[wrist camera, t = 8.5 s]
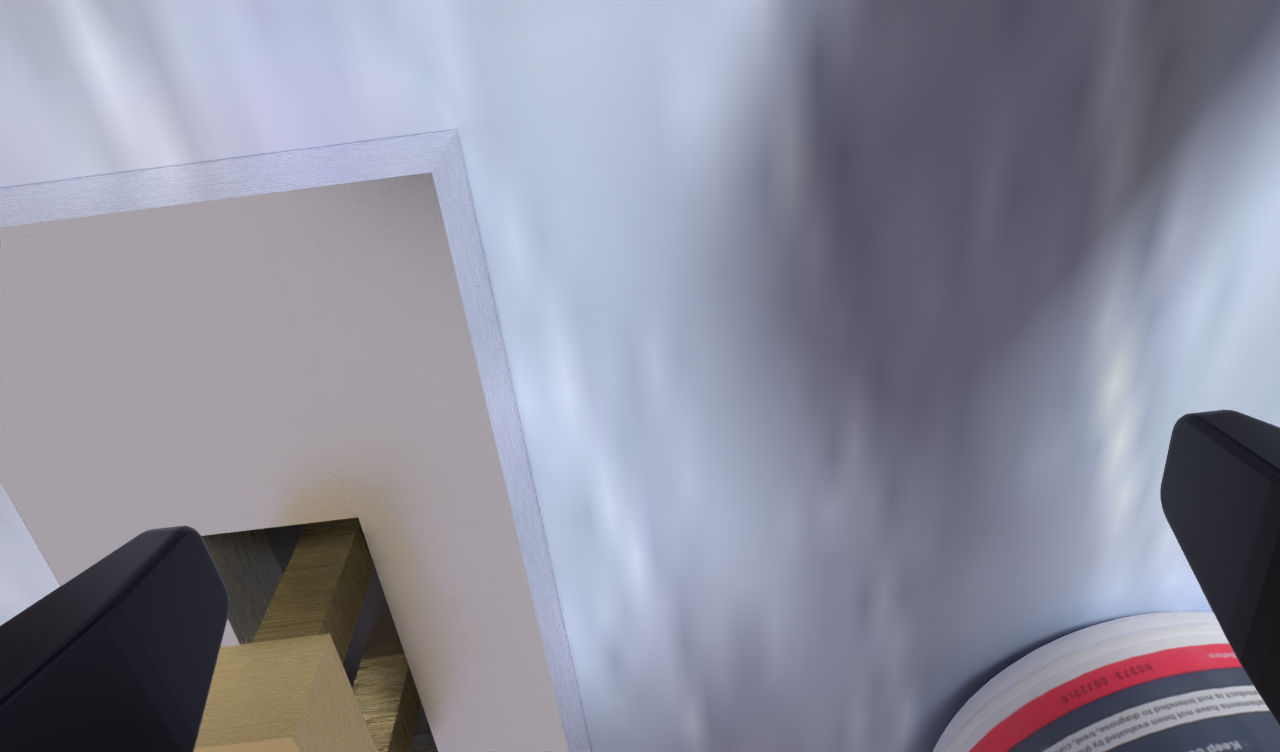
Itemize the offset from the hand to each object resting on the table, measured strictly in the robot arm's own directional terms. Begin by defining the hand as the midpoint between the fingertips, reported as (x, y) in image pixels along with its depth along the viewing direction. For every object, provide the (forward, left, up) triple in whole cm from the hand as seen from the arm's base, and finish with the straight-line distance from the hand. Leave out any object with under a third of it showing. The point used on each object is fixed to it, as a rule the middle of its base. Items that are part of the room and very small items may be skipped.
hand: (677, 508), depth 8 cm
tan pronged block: (+8, +11, -11) cm, 18 cm away
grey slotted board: (+8, +11, -12) cm, 18 cm away
